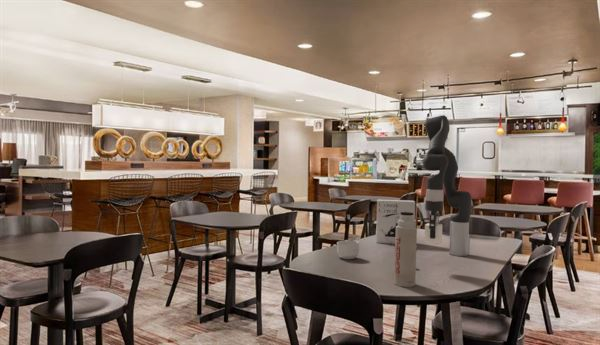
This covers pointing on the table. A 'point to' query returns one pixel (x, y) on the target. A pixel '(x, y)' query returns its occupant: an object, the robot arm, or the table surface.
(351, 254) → the teacup
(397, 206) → the cereal box
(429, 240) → the cream colored box
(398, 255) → the thermos bottle
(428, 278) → the table surface
